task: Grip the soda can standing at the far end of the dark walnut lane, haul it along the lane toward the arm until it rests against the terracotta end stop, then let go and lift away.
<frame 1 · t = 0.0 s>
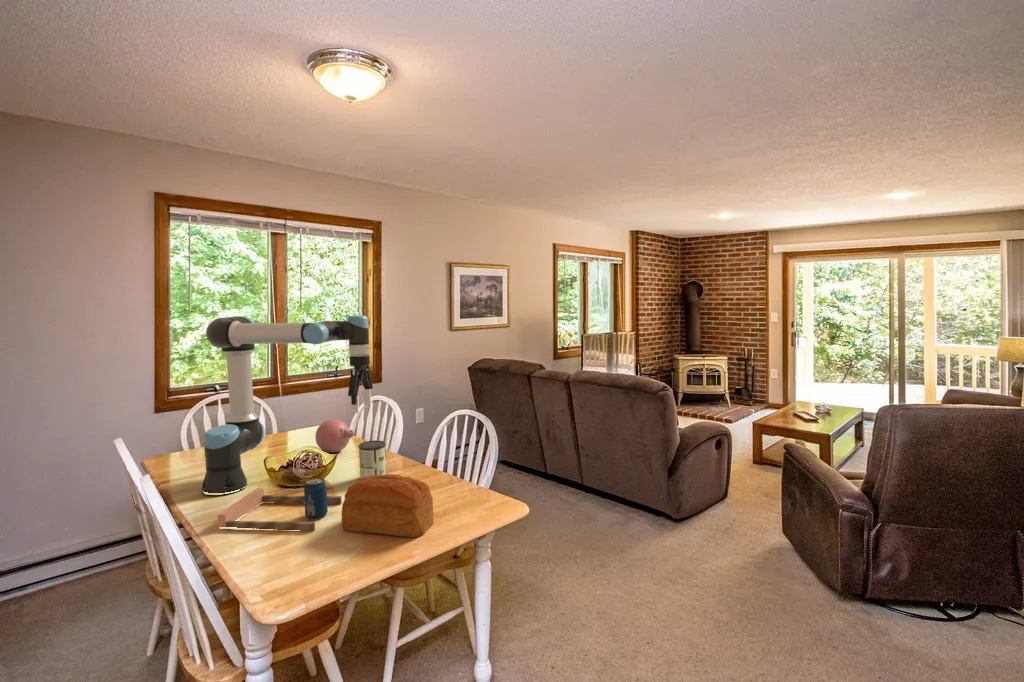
hand: (361, 408, 207), 28 cm above the table, tool pointing down, fingers open, 13 cm apart
bread: (388, 526, 166), on the table
end stop: (243, 515, 175), on the table
coffee can: (373, 479, 209), on the table
walnut lane: (287, 515, 174), on the table
pink party balloon: (337, 453, 244), on the table
soda can: (316, 516, 173), on the table
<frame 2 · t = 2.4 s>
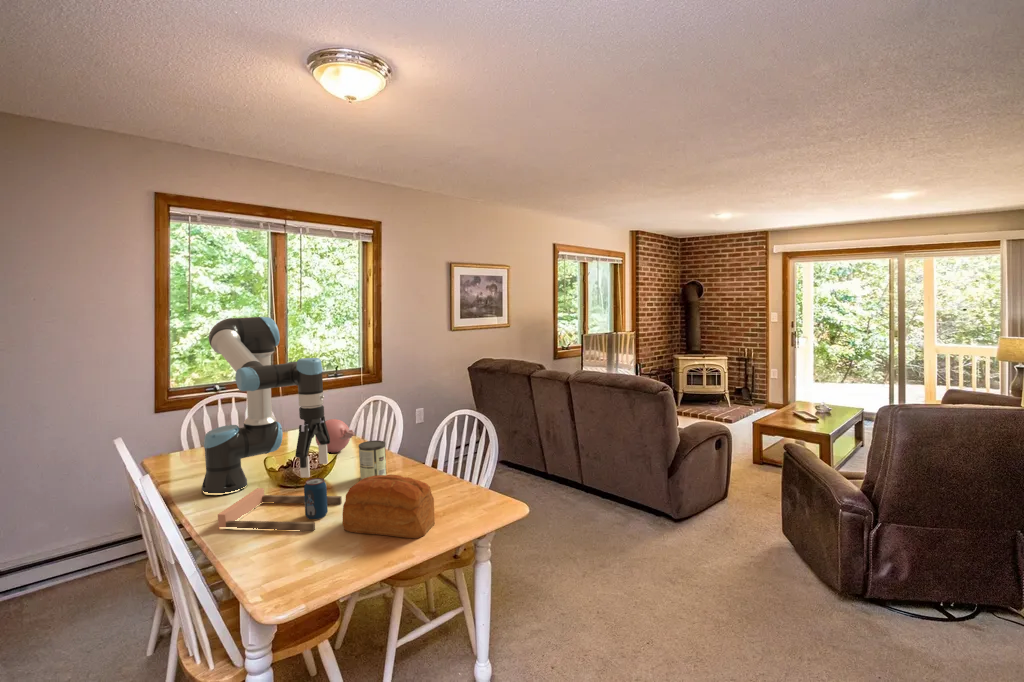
hand: (314, 470, 172), 16 cm above the table, tool pointing down, fingers open, 13 cm apart
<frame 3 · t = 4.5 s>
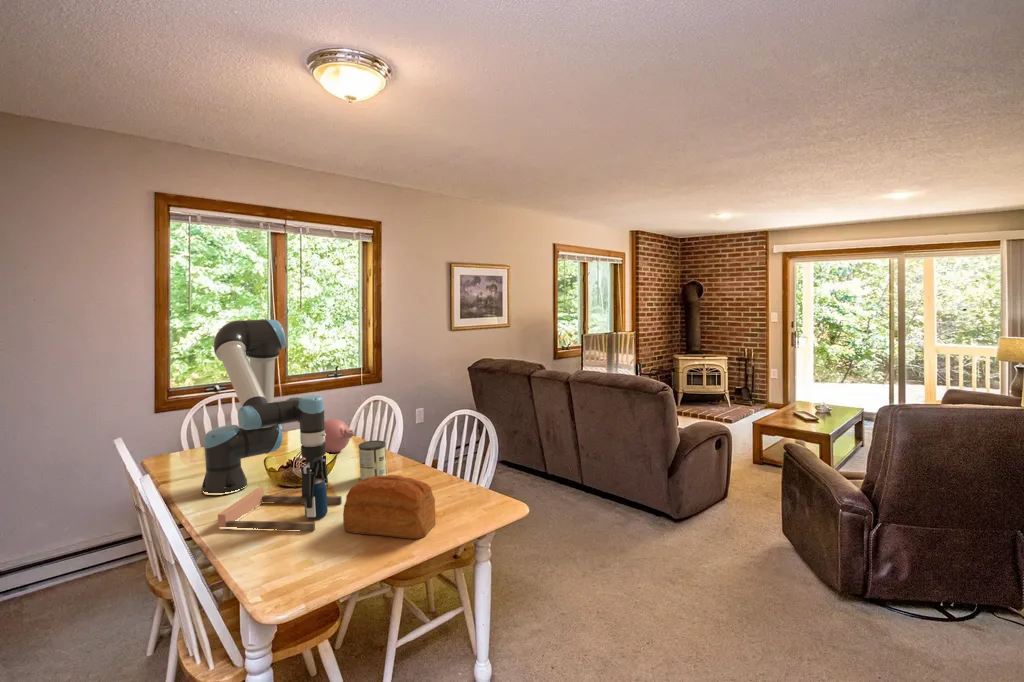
hand: (316, 511, 173), 2 cm above the table, tool pointing down, fingers closed on soda can, 7 cm apart
soda can: (316, 516, 173), on the table, touching gripper
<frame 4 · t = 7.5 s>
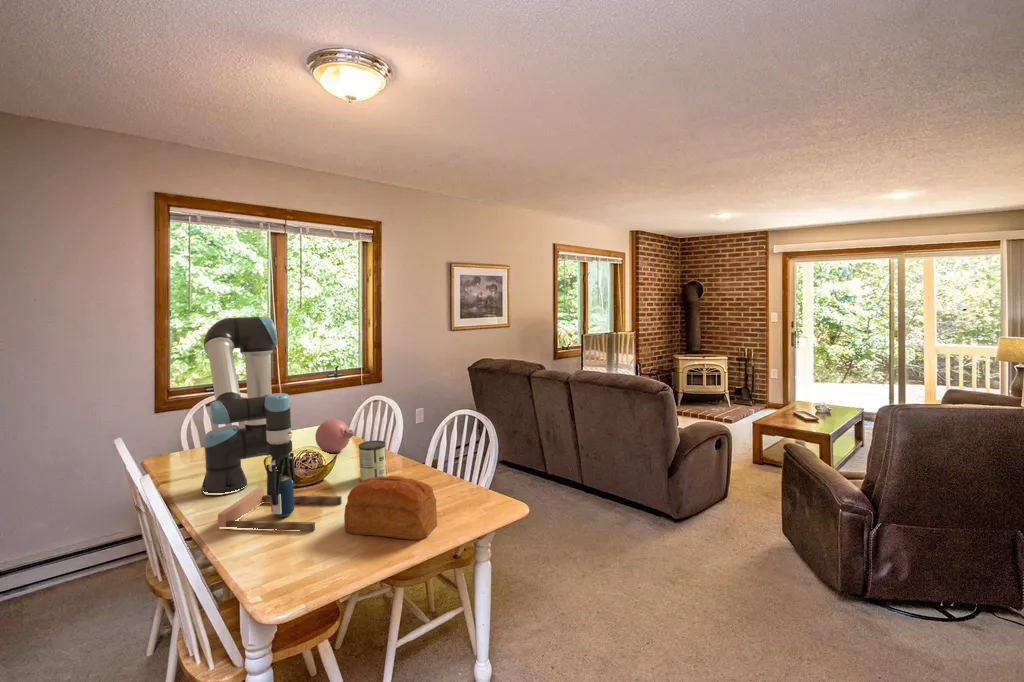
hand: (282, 508, 174), 2 cm above the table, tool pointing down, fingers closed on soda can, 7 cm apart
soda can: (283, 513, 174), on the table, touching gripper
when the fingers open (2 cm above the table, at t = 10.3 s): soda can stays where it is, on the table.
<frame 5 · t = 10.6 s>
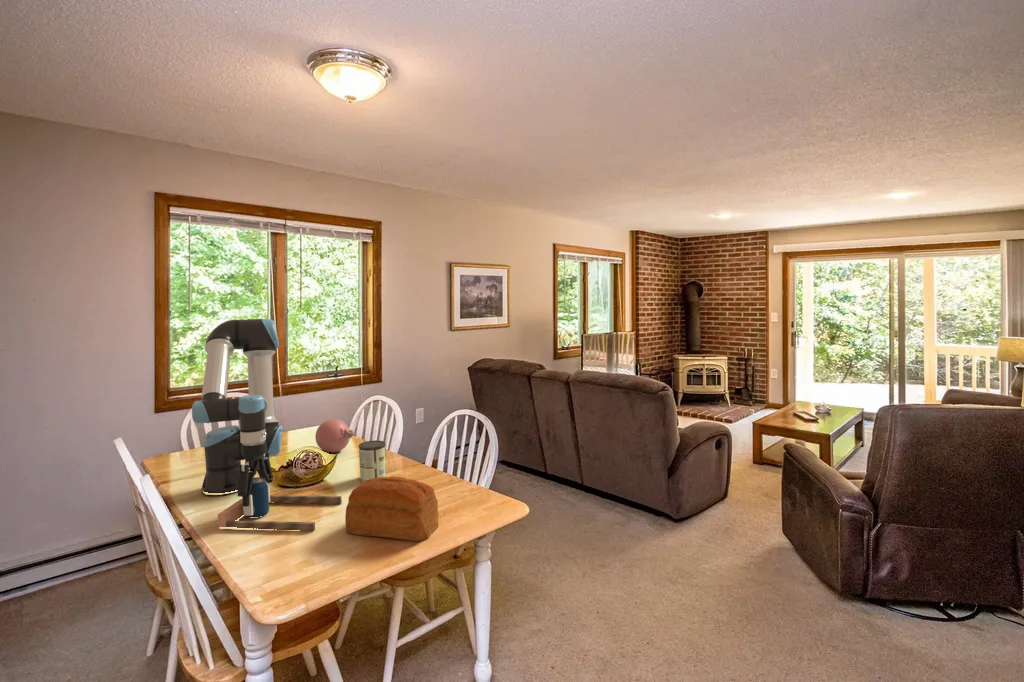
hand: (257, 508, 175), 2 cm above the table, tool pointing down, fingers open, 10 cm apart
soda can: (257, 515, 175), on the table
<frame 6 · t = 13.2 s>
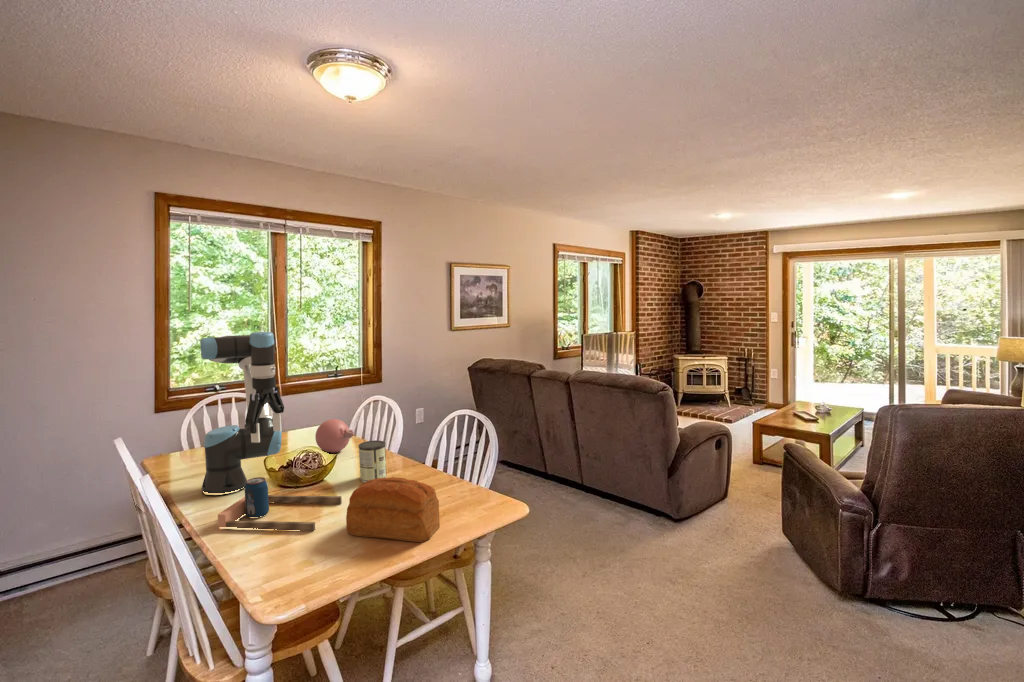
hand: (266, 436, 184), 24 cm above the table, tool pointing down, fingers open, 13 cm apart
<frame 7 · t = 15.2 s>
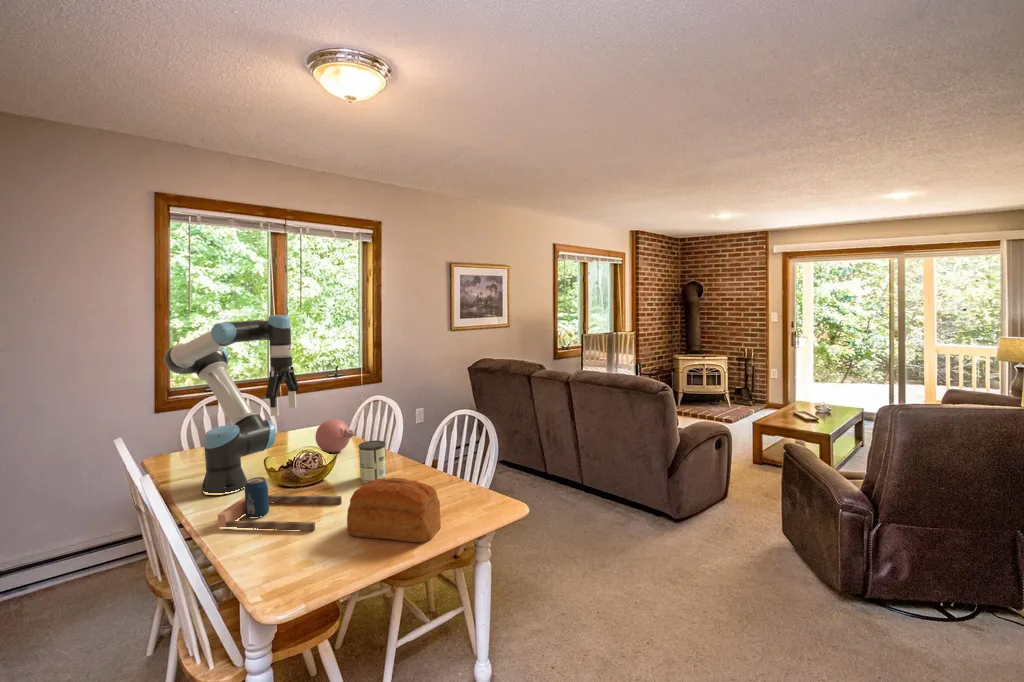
hand: (284, 411, 200), 29 cm above the table, tool pointing down, fingers open, 13 cm apart
at the end: soda can 0.6 cm from the target spot, on the table; soda can tilted 0°; soda can moved 20.1 cm from its start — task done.
